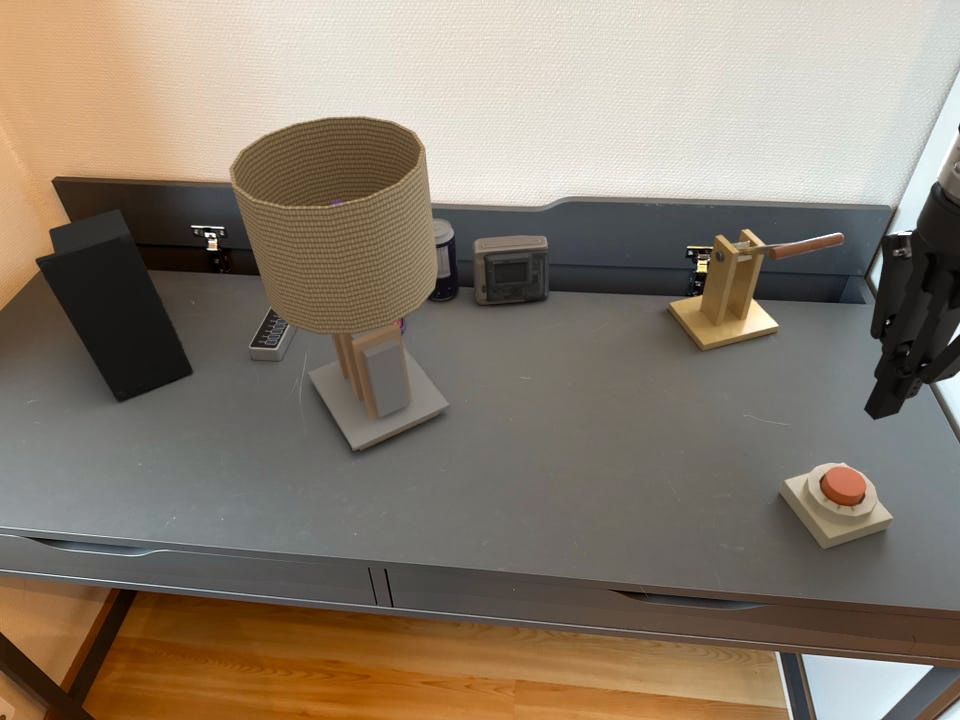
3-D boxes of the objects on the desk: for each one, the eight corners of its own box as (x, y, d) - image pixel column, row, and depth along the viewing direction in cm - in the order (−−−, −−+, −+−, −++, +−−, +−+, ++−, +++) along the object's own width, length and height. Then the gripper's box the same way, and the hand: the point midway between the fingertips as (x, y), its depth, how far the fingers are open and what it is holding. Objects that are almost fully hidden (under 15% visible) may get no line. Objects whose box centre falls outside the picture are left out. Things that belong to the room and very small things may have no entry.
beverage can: (466, 294, 111) (461, 229, 102) (435, 308, 108) (428, 242, 100) (447, 277, 114) (440, 212, 106) (417, 290, 112) (408, 225, 104)
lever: (845, 248, 82) (843, 227, 81) (777, 264, 80) (774, 243, 80) (762, 254, 97) (759, 237, 97) (704, 268, 96) (701, 250, 95)
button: (869, 500, 75) (874, 490, 74) (837, 510, 74) (842, 500, 73) (844, 471, 78) (849, 461, 77) (813, 481, 77) (817, 471, 76)
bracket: (777, 331, 101) (802, 251, 91) (702, 351, 98) (720, 271, 89) (738, 291, 108) (758, 213, 98) (667, 309, 106) (681, 230, 96)
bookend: (89, 315, 111) (14, 181, 95) (158, 291, 115) (98, 158, 99) (117, 405, 96) (34, 264, 80) (195, 374, 100) (132, 233, 84)
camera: (546, 283, 112) (547, 229, 105) (550, 306, 107) (551, 251, 101) (474, 287, 112) (471, 234, 105) (475, 310, 107) (471, 256, 101)
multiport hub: (251, 359, 102) (247, 347, 100) (284, 297, 112) (281, 286, 111) (280, 361, 101) (276, 349, 100) (311, 299, 112) (308, 287, 110)
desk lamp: (478, 416, 92) (460, 169, 68) (339, 481, 85) (264, 233, 61) (411, 334, 104) (376, 101, 80) (285, 385, 97) (205, 148, 73)
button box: (886, 529, 77) (899, 507, 74) (823, 550, 75) (834, 528, 72) (838, 473, 82) (849, 451, 80) (778, 491, 81) (787, 470, 78)
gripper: (884, 162, 55) (804, 375, 72) (1023, 251, 46) (895, 473, 62) (963, 145, 57) (867, 358, 73) (1114, 228, 48) (966, 451, 64)
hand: (880, 411), depth 68 cm, fingers closed
